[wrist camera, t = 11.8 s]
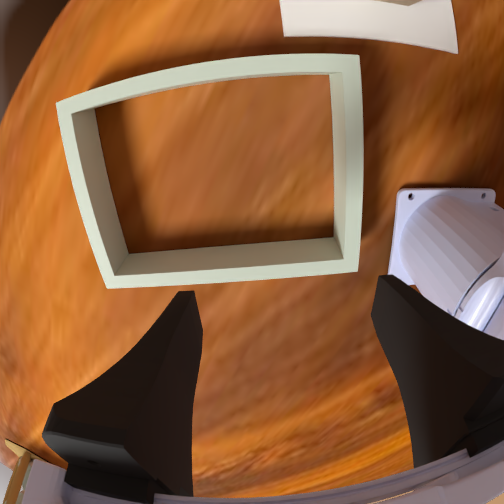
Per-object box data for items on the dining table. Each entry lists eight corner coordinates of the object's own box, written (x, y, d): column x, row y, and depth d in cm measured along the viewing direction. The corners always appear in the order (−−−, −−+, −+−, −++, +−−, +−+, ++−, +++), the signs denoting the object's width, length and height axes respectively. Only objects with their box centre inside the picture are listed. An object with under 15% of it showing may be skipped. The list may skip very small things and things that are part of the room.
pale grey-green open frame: (343, 59, 15) (359, 54, 13) (346, 248, 22) (357, 271, 19) (80, 98, 16) (55, 102, 14) (121, 266, 23) (106, 288, 20)
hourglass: (70, 482, 66) (55, 539, 45) (14, 454, 63) (-4, 507, 41) (60, 465, 55) (39, 535, 34) (-5, 429, 52) (-30, 493, 30)
